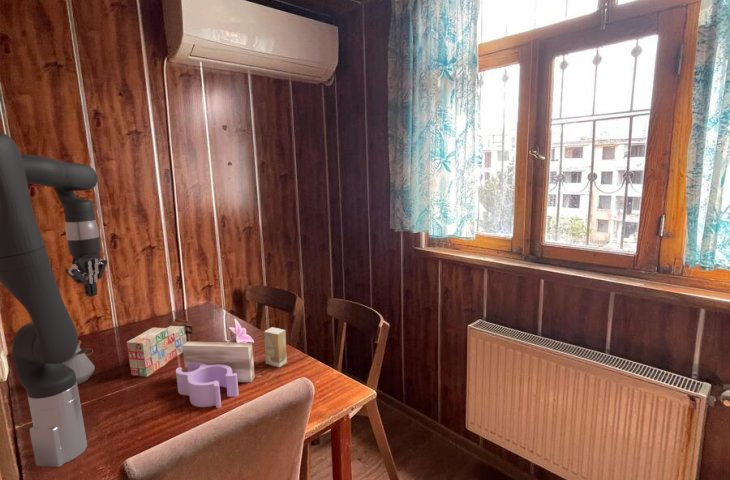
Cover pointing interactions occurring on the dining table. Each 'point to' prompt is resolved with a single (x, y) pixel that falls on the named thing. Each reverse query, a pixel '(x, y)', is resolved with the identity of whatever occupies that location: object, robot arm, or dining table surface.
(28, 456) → the dining table surface
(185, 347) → the board
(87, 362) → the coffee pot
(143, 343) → the stack of blocks
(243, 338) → the lily
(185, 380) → the clip
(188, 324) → the pottery mug
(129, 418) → the dining table surface
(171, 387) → the dining table surface
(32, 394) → the robot arm
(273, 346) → the skincare box
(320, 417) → the dining table surface
